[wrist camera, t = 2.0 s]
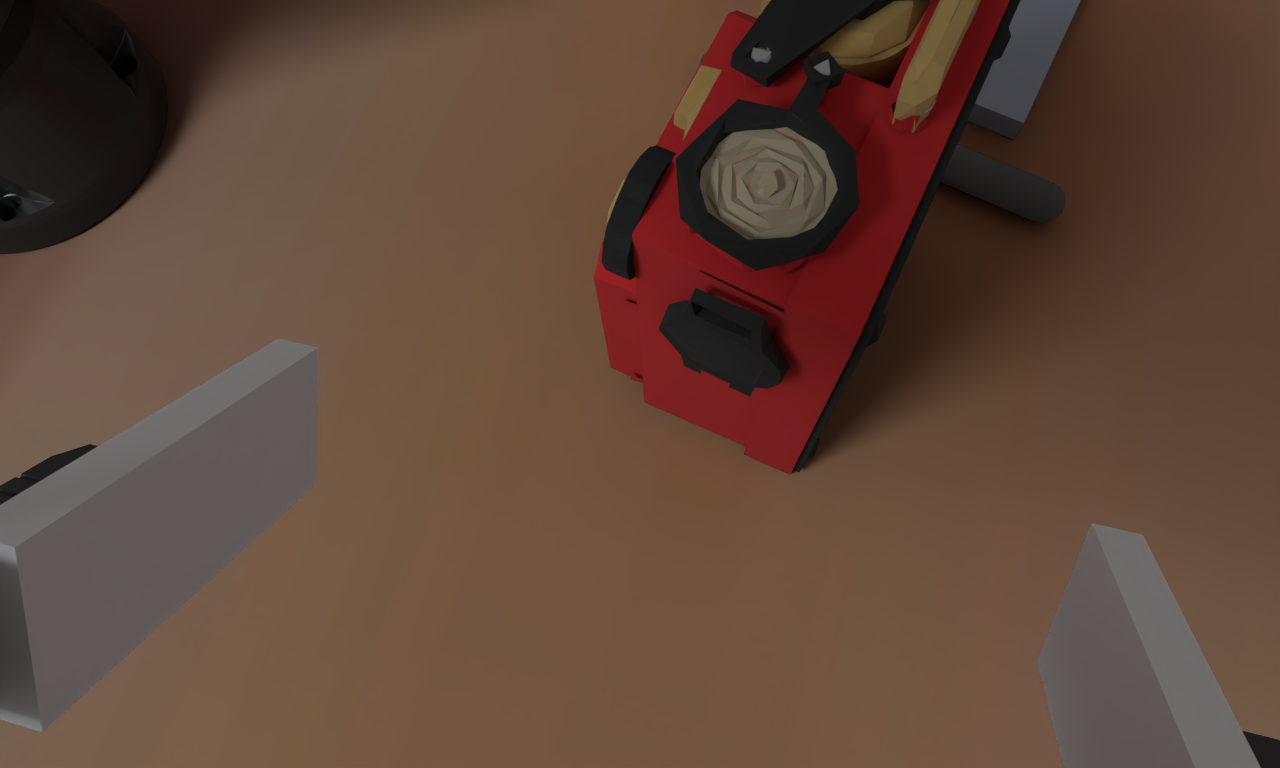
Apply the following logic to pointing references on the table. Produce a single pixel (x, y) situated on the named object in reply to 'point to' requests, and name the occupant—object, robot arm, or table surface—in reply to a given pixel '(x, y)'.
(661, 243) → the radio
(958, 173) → the rod
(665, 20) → the table surface
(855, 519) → the table surface
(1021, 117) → the board
